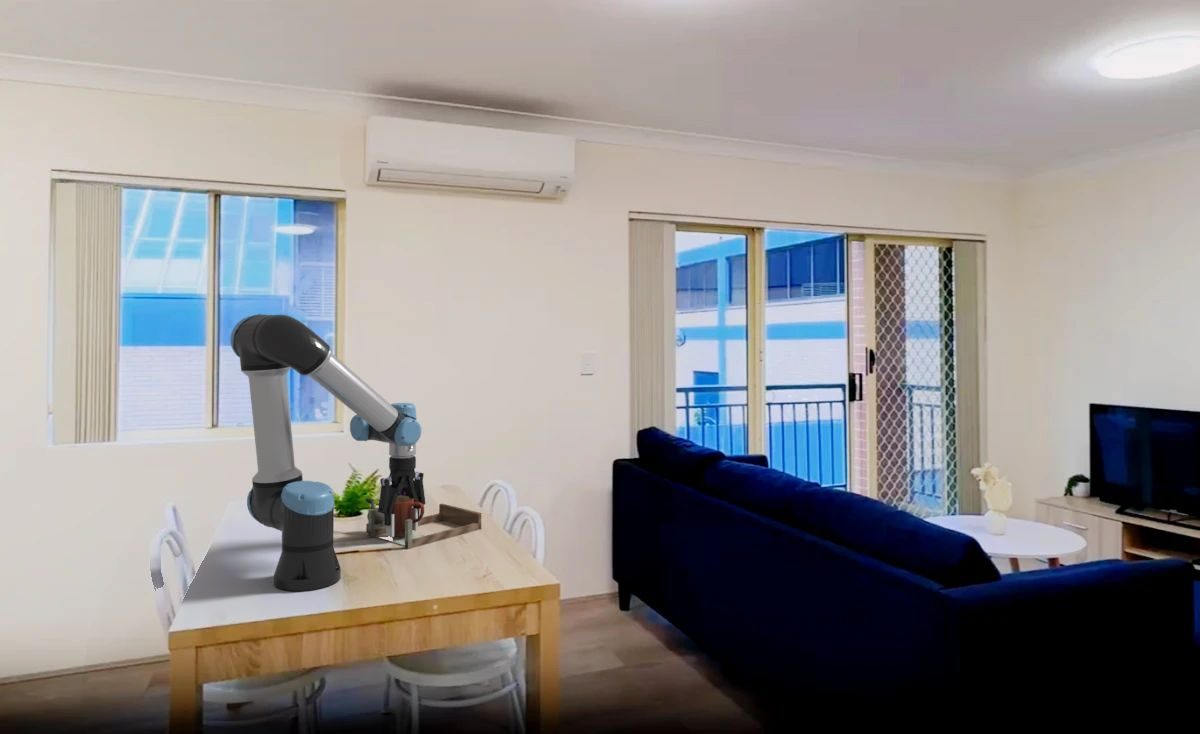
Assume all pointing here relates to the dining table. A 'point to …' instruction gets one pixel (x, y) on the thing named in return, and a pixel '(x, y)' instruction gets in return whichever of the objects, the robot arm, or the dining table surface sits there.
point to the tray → (411, 539)
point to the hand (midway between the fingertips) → (402, 532)
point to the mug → (404, 513)
